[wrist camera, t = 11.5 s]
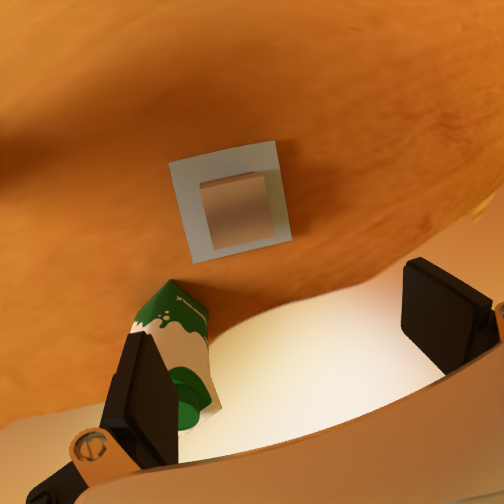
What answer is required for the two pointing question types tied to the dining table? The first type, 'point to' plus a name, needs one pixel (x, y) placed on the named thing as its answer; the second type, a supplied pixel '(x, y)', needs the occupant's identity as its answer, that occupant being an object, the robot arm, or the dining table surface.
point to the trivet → (219, 166)
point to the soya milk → (182, 351)
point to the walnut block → (237, 209)
